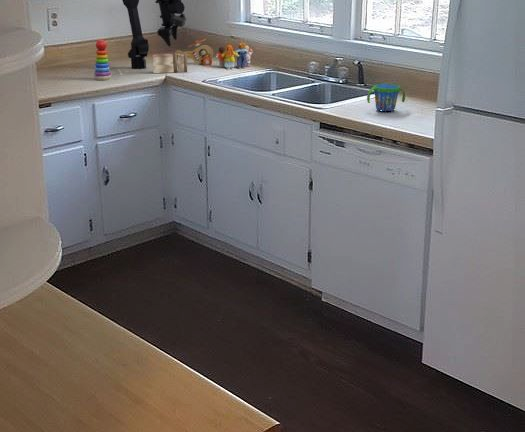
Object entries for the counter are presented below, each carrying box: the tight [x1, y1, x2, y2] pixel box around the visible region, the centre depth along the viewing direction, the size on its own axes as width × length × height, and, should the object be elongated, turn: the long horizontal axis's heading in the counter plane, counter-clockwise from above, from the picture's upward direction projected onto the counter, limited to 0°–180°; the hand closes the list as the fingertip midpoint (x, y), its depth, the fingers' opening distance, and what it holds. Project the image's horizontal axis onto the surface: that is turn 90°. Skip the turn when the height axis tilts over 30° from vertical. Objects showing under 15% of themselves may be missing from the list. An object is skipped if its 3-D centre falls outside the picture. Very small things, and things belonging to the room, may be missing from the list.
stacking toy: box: [93, 39, 112, 81], centre depth 388 cm, size 8×8×19 cm
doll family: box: [215, 42, 254, 71], centre depth 415 cm, size 21×10×13 cm, turn 115°
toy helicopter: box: [173, 38, 214, 66], centre depth 423 cm, size 8×21×14 cm, turn 98°
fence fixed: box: [177, 53, 188, 73], centre depth 403 cm, size 4×2×9 cm, turn 105°
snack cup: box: [366, 83, 406, 111], centre depth 330 cm, size 16×10×10 cm
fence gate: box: [151, 52, 179, 74], centre depth 401 cm, size 12×2×9 cm, turn 105°
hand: (172, 42), depth 400 cm, fingers open, 9 cm apart
